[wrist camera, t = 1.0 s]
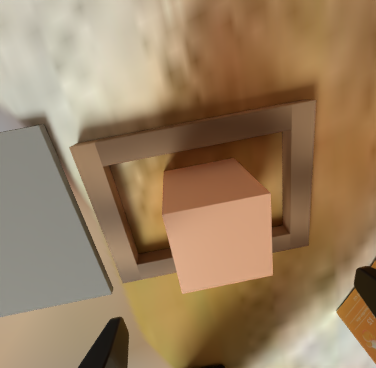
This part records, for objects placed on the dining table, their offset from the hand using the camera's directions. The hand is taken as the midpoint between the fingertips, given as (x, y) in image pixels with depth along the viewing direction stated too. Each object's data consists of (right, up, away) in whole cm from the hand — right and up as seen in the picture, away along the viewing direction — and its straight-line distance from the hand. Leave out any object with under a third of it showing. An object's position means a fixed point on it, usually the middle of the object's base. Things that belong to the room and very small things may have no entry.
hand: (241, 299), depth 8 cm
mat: (-16, +1, +8) cm, 17 cm away
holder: (-1, +3, +8) cm, 9 cm away
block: (-1, +3, +8) cm, 9 cm away
